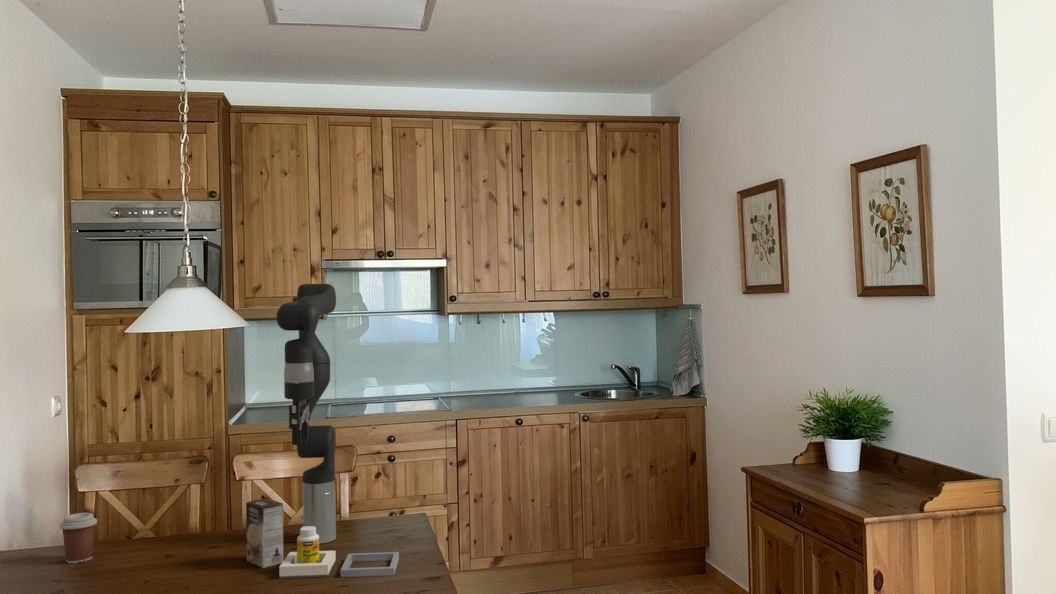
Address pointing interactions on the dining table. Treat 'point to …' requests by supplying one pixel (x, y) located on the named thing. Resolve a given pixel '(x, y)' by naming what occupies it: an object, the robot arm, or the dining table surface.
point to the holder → (307, 566)
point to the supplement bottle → (308, 545)
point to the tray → (372, 571)
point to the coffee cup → (78, 536)
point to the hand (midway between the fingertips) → (300, 441)
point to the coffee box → (264, 532)
